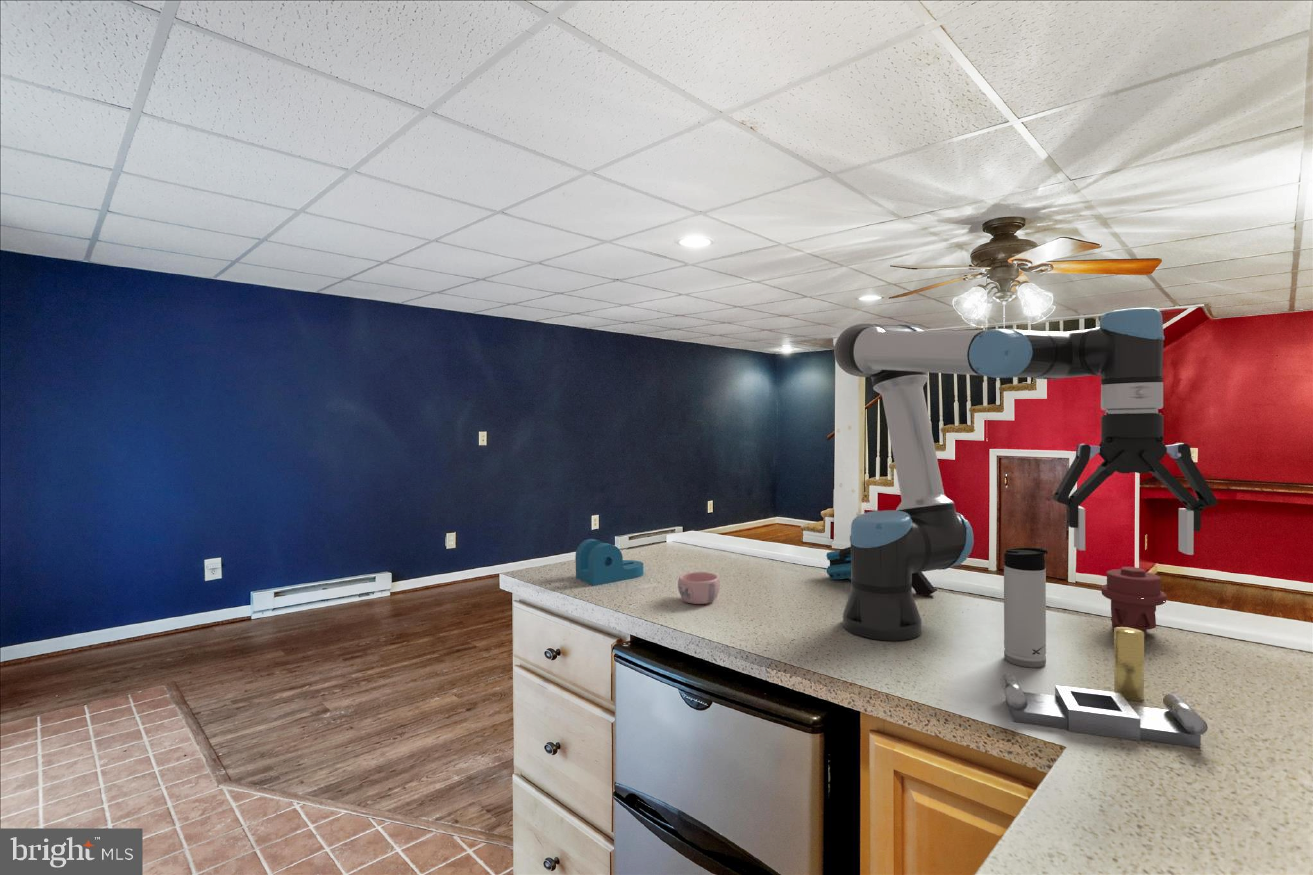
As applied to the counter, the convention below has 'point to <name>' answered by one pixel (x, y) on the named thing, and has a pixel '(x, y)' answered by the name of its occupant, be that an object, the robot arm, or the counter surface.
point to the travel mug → (1025, 607)
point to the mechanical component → (1133, 597)
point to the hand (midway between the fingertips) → (1131, 550)
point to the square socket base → (1105, 714)
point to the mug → (698, 587)
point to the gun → (842, 570)
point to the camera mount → (604, 564)
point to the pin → (1129, 663)
